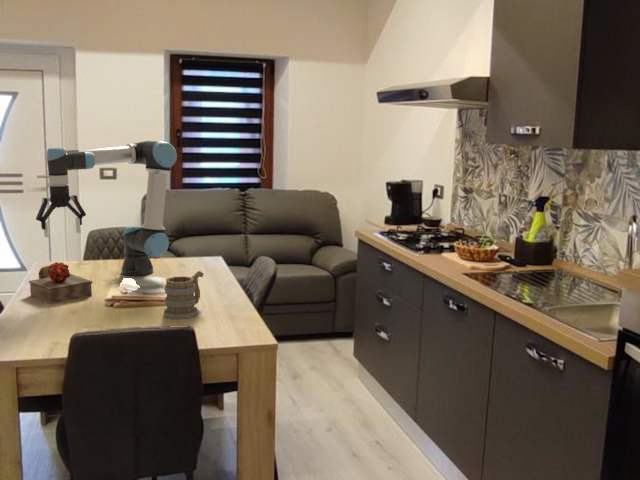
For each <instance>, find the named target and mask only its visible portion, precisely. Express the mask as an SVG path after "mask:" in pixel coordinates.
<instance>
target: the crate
mask: <svg viewBox="0 0 640 480" xmlns="http://www.w3.org/2000/svg"><path fill="white" fill-rule="evenodd" d="M28 282H29V286H30V287H29V289H30V296H31V297H32V298H36V299H38V300H39V301H40V300H41V301H42V302H45V303H48V304H49V305H52V304H58V303H62V302H67V301H72V300H78V299H82V298H83V299H84V298H87V297H92V295H93V294H92V293H93V291H92V284H93V280H90V279H87V278H84V277H82V276H78V275H76V274H72V273H70V276H69V277H67V279H66V280H65V281H63V280H62V281H61V280H60V281H59V282H56V283H55V282H54V281H53V280H51V279H50V277H49V278H43V279H39V278H37V279H33V280H28Z"/></svg>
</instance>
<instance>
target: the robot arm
mask: <svg viewBox="0 0 640 480" xmlns="http://www.w3.org/2000/svg"><path fill="white" fill-rule="evenodd" d="M177 158H178V154H177V150H176V149H175V147H174V146H173V144H171V143H170V142H166V141H163V140H161V141H160V140H159V141H158V140H156V141H155V140H146V141H139V142H134V143H127V144H126V145H124V146H122V145H121V146H110V147H98V148H96V147H95V148H84V149H83V148H82V149H73V150H72V149H71V150H70V149H69V150H67V149H66V148H65V147H51V148H48V149H47V150H46V161H47V162H46V163H47V171H48V184H49V197H42V203H41V205H40V208H39V210H38V213H37V215H36V217H35V220H36V221H39V222H40V225H41V226H40V227H41V230H43V235H44V238H49V237H50V236H49V225H48V221H47V220H48V218H49V217H50V215H51V214H52V213H53V211H54V210H55V209H56V208H65V207H67V208H68V209H69V211H71V212H72V213H73V214H74V215H75V216H76V217H75V229H76V230H75V231H76V233H77V234H81V231H82V230H81V226H83V217H86V216H87V214H86V211H85V210H84V208H83V206H81V204H80V202H79V199H78V195H74V194H72V195H71V196H70V188H69V187H70V186H69V185H68V184H69V175H68V171H76V170H77V171H78V170H89V169H93V168H94V167H95V166H100V165H111V164H122V163H128V164H129V165H135V164H136V165H143V166H144V165H145V170H146V172H148V174H147V175H148V176H147V187H146V188H147V189H146V197H145V198H146V199H145V209H144V220H143V224H141V225H133V226H127V227H125V228H124V229H123V235H122V236H123V247H124V248H123V250H124V251H123V253H124V258H123V262H122V265H121V274H122V275H125V276H135V277H136V276H146V275H150V274H153V273H154V266H153V264H152V261H151V258H150V257H154V258H157V257H160V256H163V255H164V254H165V253H166V252H167V250H168V249H169V246H170V239H169V237H168V236H167V235H166V227H165V226H164V214H165V203H166V191H167V184H168V183H167V182H168V181H167V180H168V175H169V174H170V173H172V172H171V171H172V167H173V166H174V165H175V164H176V162H177ZM70 201H72V202H73V204H74V205H75V207H76V208H75V207H74V206H73V205H72V204H71V203H70ZM49 202H50V205H49V207H48V209H47V206H48V204H49ZM46 209H47V210H46ZM45 210H46V211H45ZM77 210H78V211H77Z"/></svg>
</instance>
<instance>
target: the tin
mask: <svg viewBox="0 0 640 480" xmlns="http://www.w3.org/2000/svg"><path fill="white" fill-rule="evenodd" d="M51 265H54V263H50V264H48V265H46V266H42V267H41V268H40V269H39V271H38V279H43V278H49V277H50V276H49V275H48V270H49V267H50V266H51Z"/></svg>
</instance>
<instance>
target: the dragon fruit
mask: <svg viewBox="0 0 640 480" xmlns="http://www.w3.org/2000/svg"><path fill="white" fill-rule="evenodd" d="M53 264H54V265H51V266H50V267H49V270H48V275H49V276H50V279H51V280H53V281H54V282H55V283H56V282H59V281H60V280H61V281H62V280H63V281H65V280H66V279H67V277H69V276H70V274H71V272H70V269H69V264H65V263H64V262H58V261H57V262H54V263H53Z"/></svg>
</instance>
